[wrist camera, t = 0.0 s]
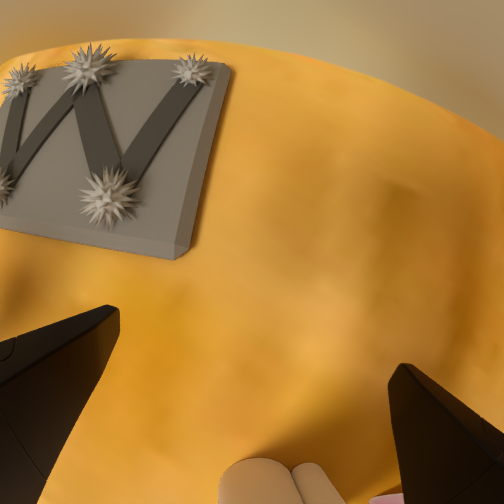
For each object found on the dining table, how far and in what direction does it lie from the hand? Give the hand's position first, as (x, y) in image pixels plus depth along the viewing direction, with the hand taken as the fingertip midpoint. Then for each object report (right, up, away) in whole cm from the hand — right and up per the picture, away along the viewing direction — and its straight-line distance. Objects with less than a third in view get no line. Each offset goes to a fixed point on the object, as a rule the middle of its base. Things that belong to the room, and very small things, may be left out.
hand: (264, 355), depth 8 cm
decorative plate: (-19, +15, +18) cm, 30 cm away
